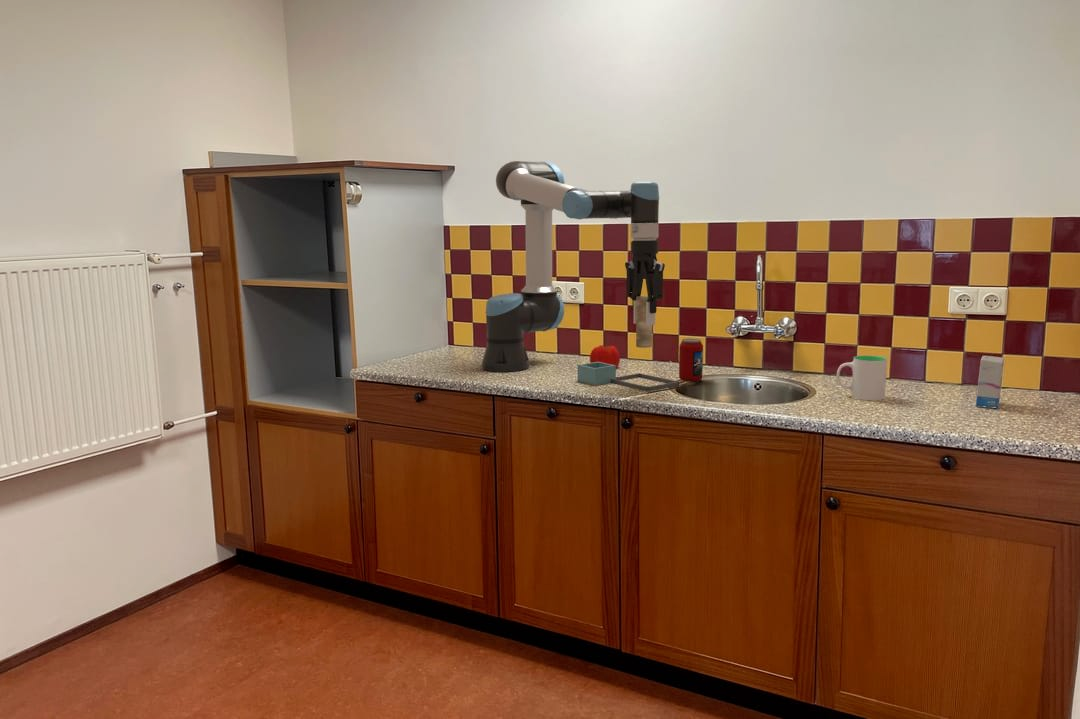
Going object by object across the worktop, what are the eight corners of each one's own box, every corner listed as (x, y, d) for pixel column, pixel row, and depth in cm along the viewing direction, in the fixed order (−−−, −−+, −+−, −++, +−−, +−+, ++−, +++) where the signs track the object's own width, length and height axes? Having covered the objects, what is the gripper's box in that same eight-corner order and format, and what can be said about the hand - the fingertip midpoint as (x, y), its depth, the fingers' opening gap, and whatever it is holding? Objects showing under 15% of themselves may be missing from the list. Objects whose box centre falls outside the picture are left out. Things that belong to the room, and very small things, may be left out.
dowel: (632, 346, 226) (633, 296, 224) (644, 344, 228) (644, 295, 226) (643, 348, 222) (644, 297, 220) (655, 346, 225) (655, 296, 223)
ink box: (998, 409, 195) (1002, 361, 193) (975, 407, 198) (979, 359, 196) (1000, 402, 202) (1004, 356, 200) (977, 400, 205) (981, 354, 203)
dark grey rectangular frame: (608, 384, 230) (608, 378, 230) (639, 379, 237) (639, 373, 237) (647, 394, 218) (647, 387, 217) (678, 387, 225) (679, 381, 224)
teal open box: (577, 383, 233) (577, 364, 232) (598, 380, 237) (598, 361, 236) (595, 387, 226) (594, 368, 225) (615, 384, 231) (615, 365, 230)
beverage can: (702, 383, 231) (703, 341, 228) (678, 382, 232) (679, 341, 230) (702, 378, 237) (703, 338, 235) (679, 378, 238) (679, 338, 236)
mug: (835, 398, 209) (837, 359, 207) (835, 392, 217) (837, 354, 215) (885, 401, 205) (887, 361, 203) (884, 395, 212) (886, 356, 211)
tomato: (617, 366, 257) (617, 343, 256) (621, 372, 249) (621, 348, 247) (588, 367, 257) (588, 344, 256) (591, 372, 248) (590, 348, 247)
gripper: (613, 239, 225) (613, 322, 229) (657, 240, 211) (656, 328, 215) (633, 238, 229) (632, 320, 233) (677, 239, 216) (676, 325, 220)
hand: (644, 323), depth 224 cm, fingers closed on dowel, 4 cm apart
